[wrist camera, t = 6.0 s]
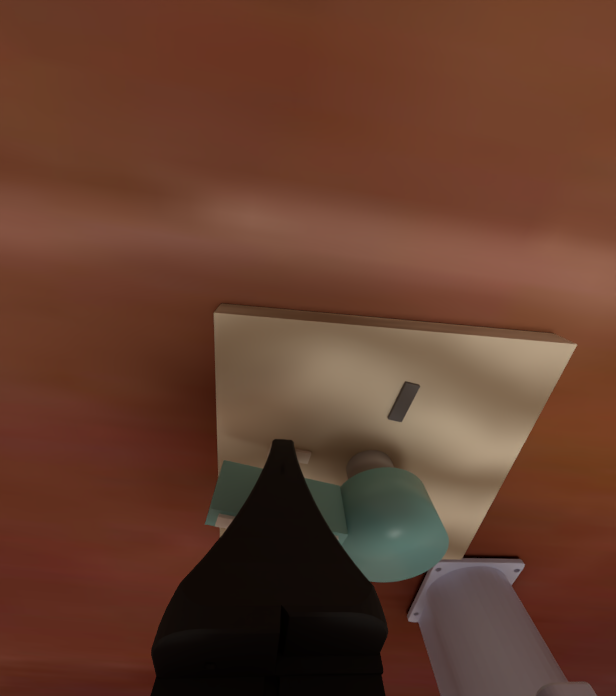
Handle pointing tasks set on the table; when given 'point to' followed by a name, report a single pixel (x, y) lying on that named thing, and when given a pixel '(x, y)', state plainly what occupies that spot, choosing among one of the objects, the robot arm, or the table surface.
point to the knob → (358, 517)
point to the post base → (384, 400)
